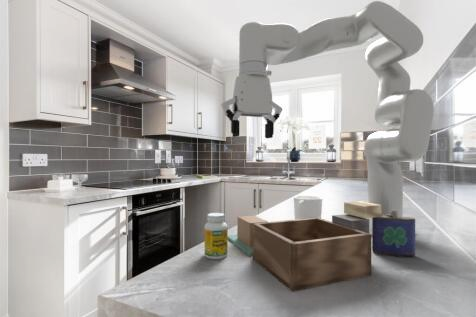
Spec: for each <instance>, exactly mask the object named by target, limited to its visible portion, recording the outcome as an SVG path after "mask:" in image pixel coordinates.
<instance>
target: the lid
mask: <svg viewBox="0 0 476 317" xmlns="http://www.w3.org/2000/svg"><path fill="white" fill-rule="evenodd" d="M263 222H269V221H268V220H265V219H262V217H259V216H257V215H254V214H253V215H244V216H243V215H241V216H237V225H236V226H237V230H236V231H237V234H229V235H228V241H230V242H231V243H232V244H234V245H235V246H236V247H237V248H239V249H240V250H242V251H243V252H244V253H245V254H246V255H248V256H249V257H252V250H253V223H263Z"/></svg>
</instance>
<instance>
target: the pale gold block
mask: <svg viewBox="0 0 476 317" xmlns="http://www.w3.org/2000/svg"><path fill="white" fill-rule="evenodd" d="M343 213H344V214H349V215H353V216H357V217H361V218H366V219H367V218H373V217H381V205H378V204H373V203H368V201H361V200H359V201H358V200H357V201H345V202H343Z"/></svg>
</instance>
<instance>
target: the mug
mask: <svg viewBox="0 0 476 317" xmlns="http://www.w3.org/2000/svg"><path fill="white" fill-rule="evenodd" d="M293 208H294V210H293V211H294V220H297V219H308V218H321V219H322V211H323V210H322V209H323V197H321V196H319V195H294V196H293Z"/></svg>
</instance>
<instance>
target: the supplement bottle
mask: <svg viewBox="0 0 476 317" xmlns="http://www.w3.org/2000/svg"><path fill="white" fill-rule="evenodd" d="M206 215H207V218H206V220H207V222H206V223H205V224H204V256H205V258H207V259H210V260H222V259H224V258H227V256H228V252H229V251H228V249H229V247H228V241H229V240H228V236H229V235H228V231H229V229H228V224H227V223H226V222H225V220H226V216H225V213H222V212H210V213H207V214H206Z"/></svg>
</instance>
